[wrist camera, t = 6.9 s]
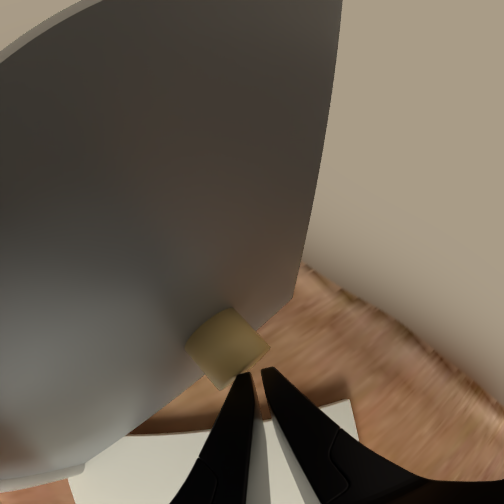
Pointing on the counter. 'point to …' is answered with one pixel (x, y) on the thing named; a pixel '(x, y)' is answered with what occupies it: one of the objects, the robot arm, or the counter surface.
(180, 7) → the door
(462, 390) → the counter surface
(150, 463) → the board
